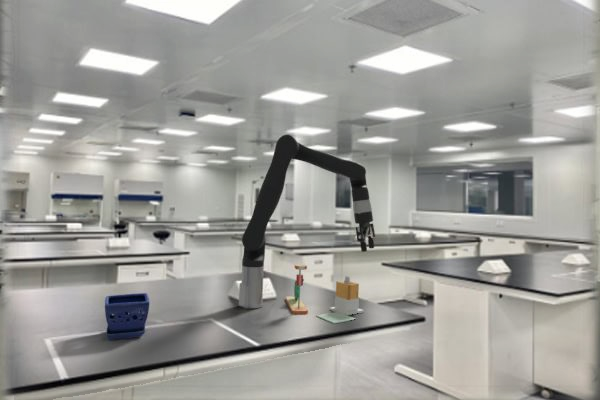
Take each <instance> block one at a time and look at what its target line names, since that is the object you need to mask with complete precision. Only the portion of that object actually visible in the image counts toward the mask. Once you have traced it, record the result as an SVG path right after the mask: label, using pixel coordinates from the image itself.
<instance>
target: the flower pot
mask: <svg viewBox="0 0 600 400" xmlns="http://www.w3.org/2000/svg"><path fill="white" fill-rule="evenodd" d="M149 311H150V298H149V296H148V293H147V292H141V293H126V294H115V295H107V296H106V297H105V299H104V314H105V321H106V323H107V328H106V332H105V336H106V338H107V339H108V340H112V341H113V340H120V339H121V340H122V339H132V338H139V337H142V336H144V334H145V332H146V322H147V319H148V316H149Z"/></svg>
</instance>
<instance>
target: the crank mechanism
mask: <svg viewBox="0 0 600 400" xmlns="http://www.w3.org/2000/svg"><path fill="white" fill-rule="evenodd" d="M294 269H295V270H298V271H299V272H298V273H296V279H295V281H294V287H293V291H294V292H293V294H294V296H292V295H291V296H289V295H287V296H285V302H286V304H287V306H288V308H289V310H290V313H291V314H292V315H307V314H309V310H308V308H307V307H306V305H305V304H304V302H303V300H302V298H301V297H300V296H301V287H302V286H303V285H304V281H305V279H304V274H302V272H301V270H303V271H304V270H307V269H308V265H307V264H305V263H304V264H301V263H298V264H297V263H296V264H294Z"/></svg>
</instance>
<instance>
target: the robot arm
mask: <svg viewBox="0 0 600 400" xmlns="http://www.w3.org/2000/svg"><path fill="white" fill-rule="evenodd" d="M292 160H297V161H301V162H305V163H307V164H309V165H310V164H311V165H313V166H315V167H318V168H320V169H322V170H325V171H328V172H331V173H333V174H336V175H341V176H344V177H346V178H349V183H350V187H351V199H352V208H353V217H354V223H355V224H357V225H358V226H356V227H355V233H356V241H357V243H360V251H361V252H362V253H363V252H364V253H365V252H368V249H374V248H375V243H374V239H375V237H376V234H375V233H376V232H375V228H374V227H375V226H374V223H372V222H373V221H374V217H373V210H372V209H373V208H372V204H371V203H372V202H371V199H370V194H369V192H370V191H369V189H368V186H367V178H366V175H367V170H366V167H365V166H364V165H362V163H358V162H355V161H351V160H347V159H344V158H343V157H341V156H338V155H334V154H331V153H328V152H325V151H322V150H316V149H313V148H310V147H307V146H306V145H304V144H301V142H298V141H297V139H296V138H295V137H294V136H293V135H291V134H283V135H281V136H280V137H279V138H278V139H277V141H276V143H275V147H274V152H273V156H272V159H271V163H270V164H269V165H270V166H269V168H268V170H267V172H266V173H265V174H266V175H265V176H264V179H263V181H262V183H261V186H260V190H259V191H258V192H259V193H258V195H257V199H256V201H255V205H254V207H253V212H252V216H251V218H250V220H249V222H248V224H247V227H246V229H245V231H244V233H242V237H241V241H242V245H243V253H242V254H243V256H242V261H241V281H240V283H239V288H238V289H239V290H238V293H239V294H238V306H239V307H242V308H243V309H246V310H247V309H258V308H262V307H263V297H264V295H263V293H264V271H265V269H264V267H265V265H264V263H265V258H266V257H265V255H266V236H265V235H266V231H267V227H268V224H269V222H270V219H271V217H272V216H273V214H274V212H275V211H276V209H277V207H278V204H279V202H280V199H281V196H282V194H283V192H284V187H285V183H286V177H287V172H288V169H289V166H290V163H291V162H292ZM366 240H367V241H366ZM367 243H368V246H367ZM367 247H368V248H367Z"/></svg>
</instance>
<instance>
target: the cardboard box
mask: <svg viewBox="0 0 600 400" xmlns="http://www.w3.org/2000/svg"><path fill="white" fill-rule="evenodd" d="M335 285H336V286H335V287H336V288H335V296H338V297H342V298H345V299H348V300H350V299H357V298H359V289H360V288H359V287H360V286H359V283H356V282H353V281H350V284H346V283H345V280H344V281H342V282H341V281H336V284H335Z"/></svg>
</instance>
